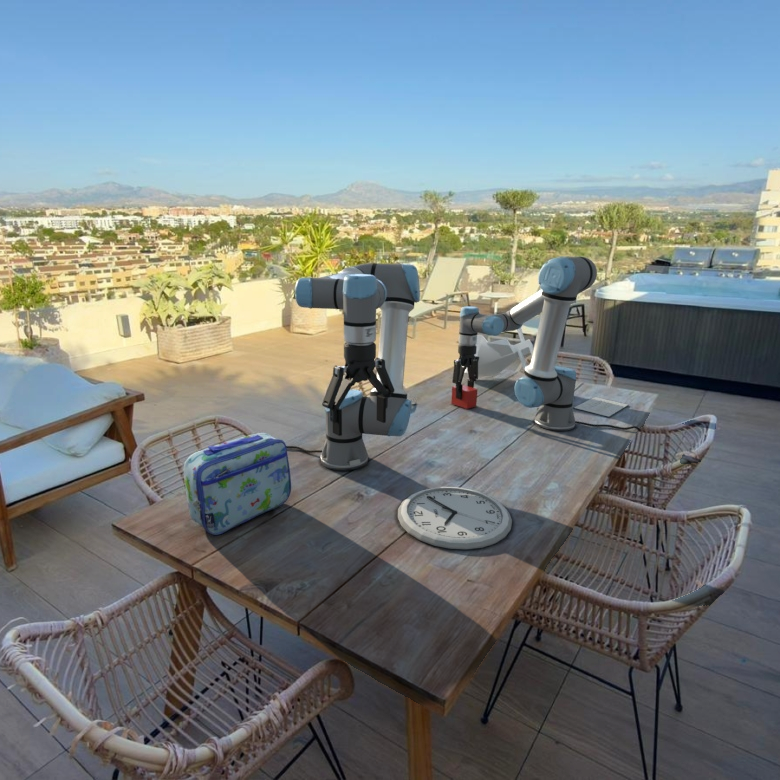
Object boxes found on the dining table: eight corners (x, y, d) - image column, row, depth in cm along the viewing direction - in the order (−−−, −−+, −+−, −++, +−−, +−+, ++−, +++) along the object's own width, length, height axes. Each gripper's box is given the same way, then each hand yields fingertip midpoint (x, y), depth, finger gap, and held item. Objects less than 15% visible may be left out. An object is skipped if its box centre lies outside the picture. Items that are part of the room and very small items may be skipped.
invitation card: (608, 416, 214) (573, 407, 224) (608, 416, 214) (573, 408, 224) (628, 404, 229) (594, 396, 238) (628, 405, 229) (594, 397, 238)
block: (451, 403, 226) (452, 386, 224) (460, 401, 230) (461, 384, 228) (467, 409, 220) (468, 391, 217) (476, 406, 223) (477, 389, 221)
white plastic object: (480, 420, 263) (459, 397, 239) (461, 347, 286) (440, 319, 261) (551, 396, 251) (537, 369, 226) (526, 322, 273) (511, 290, 249)
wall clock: (528, 541, 125) (404, 545, 122) (528, 547, 125) (404, 551, 123) (494, 482, 153) (392, 485, 151) (494, 487, 154) (392, 490, 151)
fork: (400, 412, 215) (400, 407, 215) (412, 400, 229) (412, 396, 229) (406, 412, 214) (406, 408, 214) (418, 401, 229) (418, 397, 228)
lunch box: (204, 544, 124) (196, 463, 118) (184, 526, 131) (176, 449, 125) (295, 506, 142) (292, 434, 136) (274, 491, 149) (270, 423, 143)
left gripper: (324, 352, 111) (326, 444, 117) (409, 338, 127) (407, 420, 133) (305, 346, 116) (308, 435, 123) (389, 333, 132) (388, 412, 139)
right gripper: (458, 349, 208) (455, 403, 215) (489, 342, 220) (485, 394, 227) (444, 345, 213) (442, 399, 220) (475, 339, 226) (472, 390, 233)
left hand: (359, 427), depth 128 cm, fingers open, 13 cm apart
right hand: (464, 396), depth 224 cm, fingers open, 6 cm apart
